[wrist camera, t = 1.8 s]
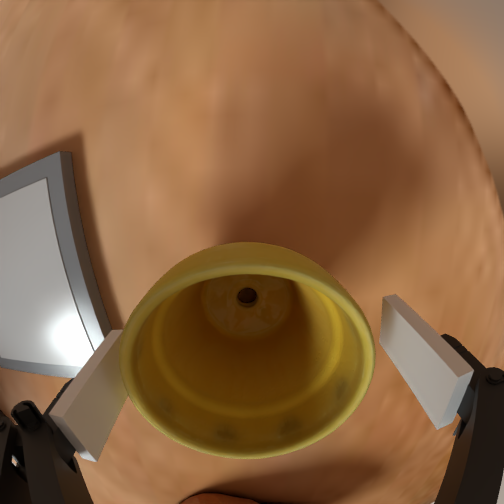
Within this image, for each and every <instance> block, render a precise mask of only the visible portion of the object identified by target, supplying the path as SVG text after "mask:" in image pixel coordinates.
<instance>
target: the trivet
mask: <svg viewBox="0 0 504 504" xmlns="http://www.w3.org/2000/svg"><path fill="white" fill-rule="evenodd" d="M111 330H112V328H111V325H110V323H109V320H108V317H107V314H106V311H105V308H104V305H103V302H102V299H101V296H100V293H99V289H98V286H97V283H96V279H95V276H94V272H93V269H92V265H91V261H90V257H89V253H88V249H87V245H86V241H85V236H84V232H83V227H82V222H81V217H80V212H79V206H78V201H77V195H76V188H75V181H74V174H73V166H72V157H71V152H63V151H59V152H57V153H54V154H52V155H50V156H47V157H45V158H43V159H41V160H38V161H36V162H34V163H32V164H30V165H28V166H26V167H24V168H22V169H20V170H18V171H16V172H14V173H12V174H10V175H8V176H6V177H4V178H2V179H0V366H1V367H2V368H7V369H12V370H17V371H23V372H29V373H35V374H42V375H49V376H57V377H66V378H75V377H76V375H77V374H78V373H79V371H80V370H81V369H82V367H83V366H84V365H85V363H86V362H87V361H88V359H89V358H90V357H91V356H92V354H93V353H94V352H95V350H96V349H97V348H98V347H99V345H100V344H101V343H102V342H103V340H104V339H105V338H106V337H107V335H108V334H109V333H110V332H111Z"/></svg>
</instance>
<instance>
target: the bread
mask: <svg viewBox="0 0 504 504" xmlns="http://www.w3.org/2000/svg"><path fill="white" fill-rule="evenodd" d="M180 504H259V503H257V502H255V501H253V500H251V499H245V498H239V497H233V496H228V495H223V494H217V493H202V494H199V495H196V496H192V497H190V498H188V499H186V500H185V501H184V502H182V503H180Z"/></svg>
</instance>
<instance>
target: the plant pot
mask: <svg viewBox="0 0 504 504" xmlns="http://www.w3.org/2000/svg"><path fill="white" fill-rule="evenodd" d="M243 288H252V289H254V290H255V291H256V293H257V297H256V299H255V300H254V301H253V302H251V303H242V302H241V301H240V300H239V299H238V293H239V292H240V290H242V289H243ZM119 367H120V372H121V377H122V381H123V384H124V386H125V389H126V391H127V393H128V395H129V397H130V399H131V401H132V402H133V404H134V405H135V407H136V408H137V410H138V411H139V412H140V413H141V414H142V416H143V417H144V418H145V419H146V420H147V421H148V422H149V423H150V424H151V425H153V426H154V427H155V428H156V429H157V430H159V431H160V432H161V433H163V434H164V435H166V436H167V437H169V438H170V439H172V440H174V441H176V442H178V443H180V444H182V445H184V446H186V447H188V448H191V449H194V450H196V451H199V452H203V453H206V454H210V455H214V456H220V457H226V458H236V459H259V458H268V457H274V456H279V455H283V454H287V453H290V452H294V451H296V450H299V449H302V448H305V447H307V446H309V445H311V444H313V443H315V442H317V441H319V440H321V439H322V438H324V437H326V436H327V435H329V434H330V433H332V432H333V431H334V430H336V429H337V428H338V427H339V426H340V425H342V424H343V423H344V422H345V421H346V420H347V419H348V418H349V417H350V416H351V415H352V413H353V412H354V411H355V410H356V408H357V407H358V406H359V404H360V403H361V401H362V400H363V398H364V396H365V394H366V392H367V390H368V388H369V385H370V383H371V380H372V377H373V373H374V367H375V344H374V339H373V335H372V331H371V328H370V326H369V323H368V321H367V319H366V317H365V315H364V313H363V312H362V310H361V308H360V307H359V305H358V304H357V303H356V302H355V300H354V299H353V298H352V297H351V295H350V294H349V293H348V292H347V291H346V290H345V289H344V288H343V286H342V285H341V284H340V283H339V282H338V281H337V280H336V279H335V278H334V277H333V276H331V275H330V274H329V273H328V272H327V271H326V270H325V269H324V268H322V267H321V266H320V265H318V264H317V263H315V262H314V261H312V260H311V259H309V258H308V257H306V256H304V255H302V254H300V253H298V252H295V251H293V250H290V249H287V248H284V247H281V246H277V245H272V244H266V243H259V242H236V243H228V244H222V245H218V246H214V247H211V248H208V249H204V250H202V251H199V252H197V253H195V254H193V255H191V256H189V257H187V258H185V259H184V260H182V261H181V262H179V263H178V264H176V265H175V266H174V267H173V268H171V269H170V270H169V271H168V272H167V273H166V274H165V275H163V276H162V277H161V278H160V279H159V280H158V281H157V282H156V283H155V285H154V286H153V287H152V288H151V289H150V290H149V291H148V292H147V294H146V295H145V296H144V297H143V299H142V300H141V301H140V302H139V304H138V305H137V306H136V308H135V309H134V310H133V312H132V314H131V315H130V317H129V319H128V321H127V323H126V325H125V327H124V330H123V333H122V336H121V341H120V345H119Z"/></svg>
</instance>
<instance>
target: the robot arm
mask: <svg viewBox="0 0 504 504" xmlns="http://www.w3.org/2000/svg"><path fill="white" fill-rule="evenodd" d="M123 330H124V329H123ZM123 330H111V332H110V333H109V334H108V335H107V337H106V338H105V339H104V340H103V342H102V343H101V344H100V345H99V347H98V348H97V349H96V350H95V352H94V353H93V354H92V356H91V357H90V358H89V359H88V361H87V362H86V363H85V365H84V366H83V367H82V369H81V370H80V371H79V373H78V374H77V375H76V377H75V378H72V379H71V380H70V381H68V382H67V383H66V384H65V385H64V386H63V388H62V389H61V390H60V392H59V393H58V394H57V396H56V398H54V400H53V401H52V403H51V404H50V405H49V407H48V408H47V410H46V411H45V412H44V414H43V415H42V414H41V413H40V411H39V410H38V408H37V407H36V405H35V404H34V403H33V402H32V401H28V400H26V401H22V402H20V403H18V404H17V405H16V406H14V408H13V409H12V411H11V416H12V417H13V418H14V420H15V421H16V422H17V424H18V425H14V424H13V423H12V421H11V420H10V418H8V417H5V416H4V414H3V413H2V412H1V411H0V504H94V503H93V501H92V499H91V496H90V494H89V492H88V489H87V487H86V484H85V481H84V479H83V476H82V473H81V471H80V468H79V465H78V462H77V460H76V458H75V457H74V456H73V455H74V453H75V451H77V452H78V453H79V454H80V456H81V457H82V458H83V459H87V460H91V461H95V462H97V461H98V458H99V456H100V454H101V452H102V450H103V447H104V445H105V443H106V441H107V439H108V436H109V434H110V432H111V430H112V428H113V426H114V424H115V421H116V419H117V417H118V415H119V413H120V411H121V409H122V407H123V405H124V403H125V401H126V399H127V396H128V393H127V391H126V389H125V386H124V384H123V381H122V377H121V372H120V367H119V345H120V341H121V336H122V333H123ZM379 343H380V344H381V346H382V347H383V349H384V350H385V352H386V353H387V354H388V356H389V357H390V359H391V360H392V362H393V363H394V365H395V366H396V368H397V369H398V370H399V372H400V373H401V375H402V376H403V378H404V379H405V381H406V382H407V384H408V385H409V387H410V388H411V390H412V391H413V393H414V394H415V396H416V398H417V399H418V401H419V402H420V404H421V405H422V407H423V408H424V410H425V412H426V413H427V415H428V416H429V418H430V419H431V421H432V423H433V424H434V426H435V428H436V429H440V428H442V427H444V426H446V425H448V424H450V423H452V422H453V420H454V418H455V416H456V414H457V413H458V414H459V416H460V417H461V420H460V422H459V424H458V426H457V427H456V429H455V431H454V433H453V435H454V436H455V435H456V438H455V442H454V445H453V449H452V453H451V456H450V460H449V463H448V466H447V470H446V473H445V476H444V479H443V482H442V484H441V487H440V490H439V493H438V495H437V498H436V500H435V503H434V504H496V503H497V499H498V495H499V490H500V486H501V481H502V476H503V470H504V371H503V370H501V369H499V368H495V367H491V368H487V369H486V368H485V367H484V366H483V365H482V364H481V363H480V362H479V361H478V360H477V359H476V358H475V357H474V356H473V355H472V354H471V353H470V352H469V351H467V349H466V348H465V347H464V346H462V344H461V343H460V342H459V341H458V340H457V339H456V338H454V337H452V336H449V335H447V334H444V335H441V336H440V335H439V334H438V333H437V332H436V331H435V330H434V329H433V328H432V327H431V326H430V325H429V324H428V323H427V322H425V321H424V320H423V319H422V318H421V317H420V316H419V315H418V314H417V313H416V312H415V311H414V310H413V309H412V308H410V307H409V306H408V305H407V304H406V303H405V302H404V301H403V300H402V299H401V298H400V297H398V296H397V295H396V294H394V295H389V296H385V297H383V300H382V317H381V331H380V342H379ZM12 458H13V459H14V460H15V461H16V462H17V465H16V466H15V465H14V464H13V463H12Z"/></svg>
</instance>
